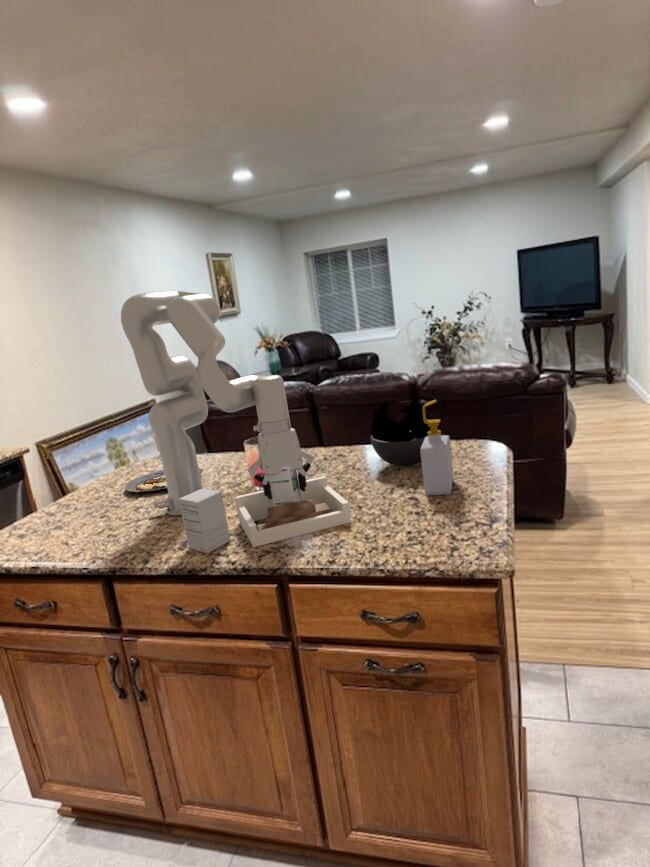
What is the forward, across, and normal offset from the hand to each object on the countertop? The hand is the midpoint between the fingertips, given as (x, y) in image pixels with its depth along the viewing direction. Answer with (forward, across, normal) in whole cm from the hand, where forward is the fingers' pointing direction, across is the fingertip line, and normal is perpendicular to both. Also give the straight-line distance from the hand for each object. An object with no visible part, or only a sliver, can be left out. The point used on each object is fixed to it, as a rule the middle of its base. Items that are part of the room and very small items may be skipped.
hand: (286, 493), depth 150 cm
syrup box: (+7, 0, 0) cm, 7 cm away
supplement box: (+7, -21, -4) cm, 23 cm away
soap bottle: (+7, +40, -4) cm, 41 cm away
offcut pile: (+7, 0, -7) cm, 10 cm away
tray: (+6, 0, -4) cm, 7 cm away
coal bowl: (+7, +42, +20) cm, 47 cm away
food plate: (+7, -28, +60) cm, 66 cm away
